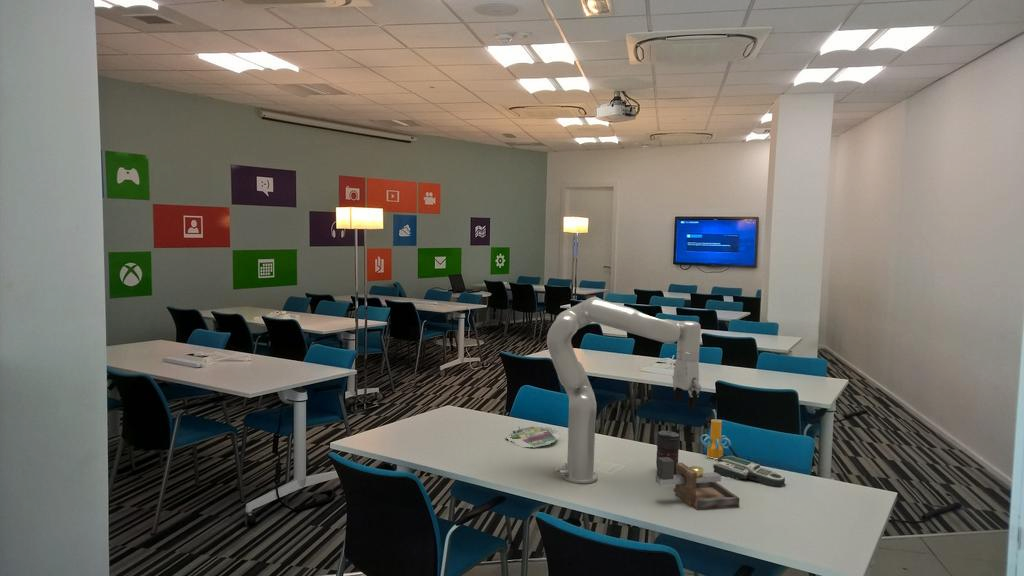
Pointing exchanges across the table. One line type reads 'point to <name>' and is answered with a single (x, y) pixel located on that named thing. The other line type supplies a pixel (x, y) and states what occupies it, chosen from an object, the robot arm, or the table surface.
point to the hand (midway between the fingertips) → (685, 404)
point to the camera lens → (668, 446)
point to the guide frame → (703, 492)
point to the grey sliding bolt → (668, 478)
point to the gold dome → (697, 471)
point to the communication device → (746, 470)
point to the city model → (536, 435)
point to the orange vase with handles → (715, 440)
